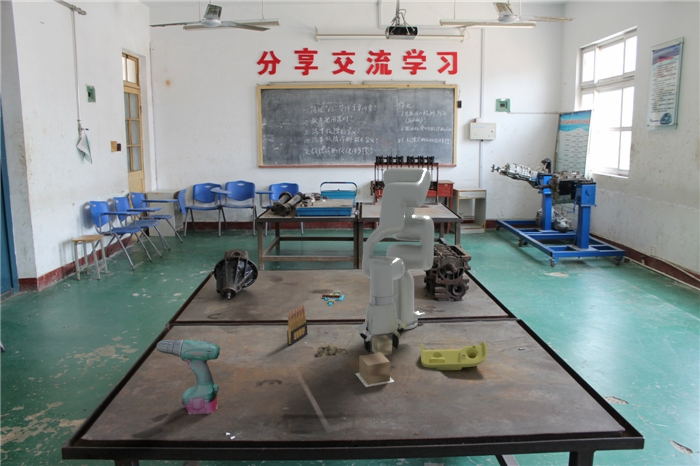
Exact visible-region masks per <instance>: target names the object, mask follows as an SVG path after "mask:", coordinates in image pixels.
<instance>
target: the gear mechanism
mask: <svg viewBox="0 0 700 466" xmlns="http://www.w3.org/2000/svg"><path fill="white" fill-rule="evenodd" d="M321 296H322V298H324V300H325V301H327V303H328V306H332V305H333V304H335V303H336V301H338V302H339V301H343V299H344V297H345V295H344V294H341V290H339V288H338V287H336V290H334V291H333V293H330V294H322V295H321Z"/></svg>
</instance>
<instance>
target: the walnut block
mask: <svg viewBox="0 0 700 466" xmlns="http://www.w3.org/2000/svg"><path fill="white" fill-rule="evenodd" d="M358 361H359V365H358V366H359V373H360V376H361V377H362V378H363V379H364V381H365V382H366V383H367V384H368V385H369V384H375V383H380V382H386V381H390V377H391V361H390V360H389V359H388V357H386V355H383V354H382V353H381V352H380V353H374V352H373V353H369V354H363V355H359V359H358Z"/></svg>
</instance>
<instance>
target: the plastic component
mask: <svg viewBox="0 0 700 466" xmlns="http://www.w3.org/2000/svg"><path fill="white" fill-rule="evenodd" d="M424 348H425V347H424V343H420V361H421V365H422V367H425V368H429V369H430V368H431V369H436V370H437V371H461V370H462V369H463V368H472V367H473V368H475V367H476V366H478V365H480V364H482V363H483V362H484V361H486V358H487V356H488V346H487V343H486V341H483V342H481V343H479V344H478V345H475V344H472V345H465V346H464V347H462V348H459V349H457V348H454V349H452V348H451V349H424Z"/></svg>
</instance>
